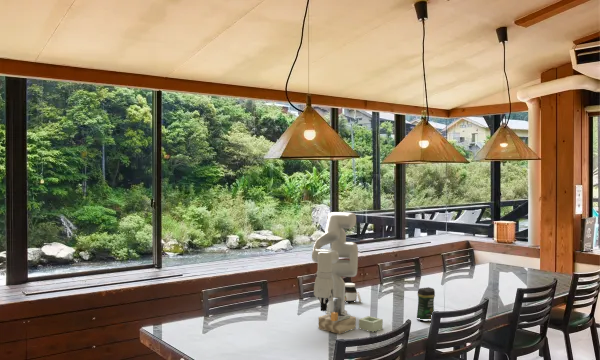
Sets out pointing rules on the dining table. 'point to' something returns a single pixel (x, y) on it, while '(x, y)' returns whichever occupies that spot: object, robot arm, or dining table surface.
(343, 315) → the locking fork
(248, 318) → the dining table surface
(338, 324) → the socket block
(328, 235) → the robot arm
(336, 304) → the peg
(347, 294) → the spread jar
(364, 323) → the pale green square tray
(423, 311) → the coffee jar
